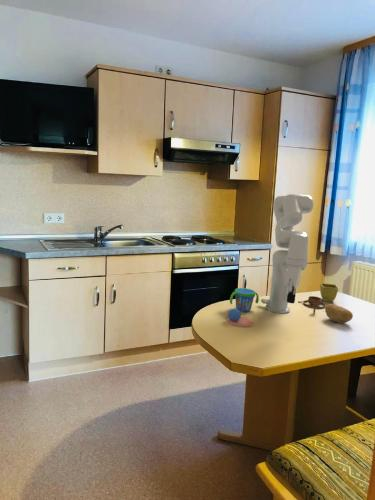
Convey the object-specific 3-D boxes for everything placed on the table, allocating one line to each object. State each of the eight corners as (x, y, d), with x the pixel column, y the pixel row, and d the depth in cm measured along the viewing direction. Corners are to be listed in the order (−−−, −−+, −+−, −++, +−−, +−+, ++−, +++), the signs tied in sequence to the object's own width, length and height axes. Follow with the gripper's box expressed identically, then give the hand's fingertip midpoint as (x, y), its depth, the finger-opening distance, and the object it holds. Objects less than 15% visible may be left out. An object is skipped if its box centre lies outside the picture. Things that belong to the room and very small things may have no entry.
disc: (222, 322, 189) (222, 322, 189) (231, 315, 201) (231, 314, 201) (249, 329, 184) (249, 328, 184) (257, 320, 196) (257, 320, 196)
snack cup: (253, 306, 217) (255, 287, 215) (261, 313, 207) (263, 294, 205) (225, 306, 214) (227, 287, 212) (232, 313, 204) (234, 293, 202)
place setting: (334, 309, 225) (335, 298, 224) (315, 315, 212) (317, 305, 210) (305, 300, 238) (307, 290, 236) (286, 306, 224) (288, 296, 223)
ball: (242, 315, 188) (234, 325, 190) (244, 312, 194) (237, 321, 196) (231, 308, 189) (224, 317, 191) (233, 304, 195) (227, 314, 197)
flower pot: (320, 301, 235) (322, 286, 234) (318, 297, 244) (320, 282, 242) (336, 303, 234) (338, 288, 232) (333, 299, 242) (335, 284, 241)
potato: (344, 328, 195) (346, 312, 193) (319, 318, 206) (321, 303, 204) (355, 325, 200) (358, 309, 199) (331, 315, 211) (333, 301, 210)
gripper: (290, 258, 186) (285, 296, 189) (283, 263, 173) (278, 305, 176) (307, 260, 183) (302, 299, 186) (301, 266, 170) (296, 308, 173)
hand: (290, 302), depth 181 cm, fingers closed
